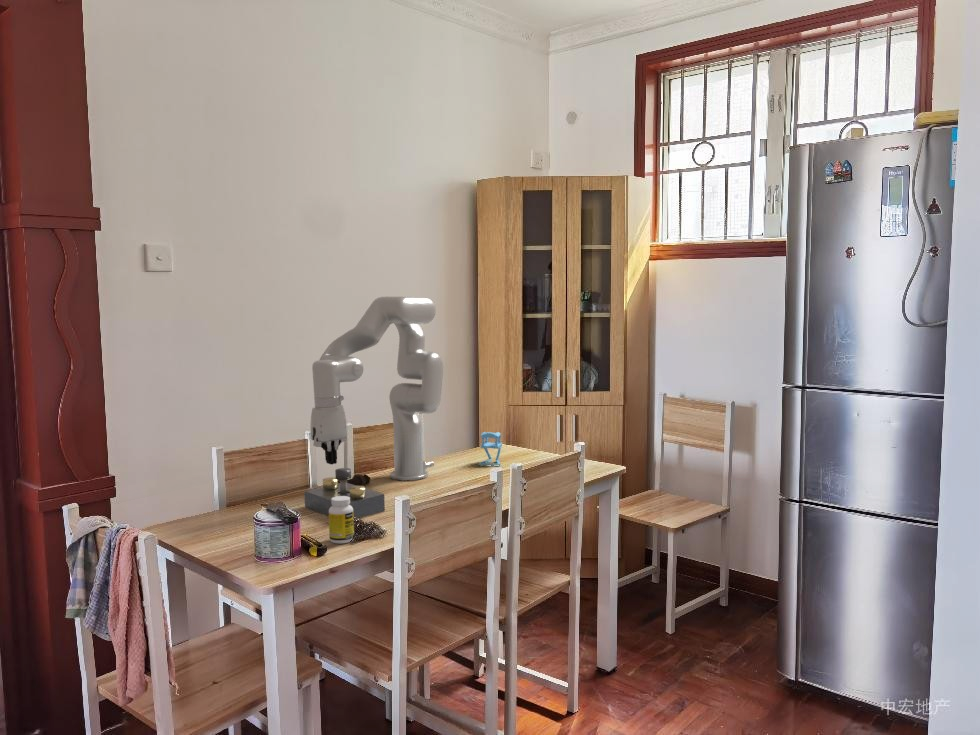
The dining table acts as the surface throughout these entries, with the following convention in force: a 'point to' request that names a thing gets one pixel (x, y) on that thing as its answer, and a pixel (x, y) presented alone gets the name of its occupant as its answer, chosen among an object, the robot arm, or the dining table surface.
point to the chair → (491, 446)
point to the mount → (361, 507)
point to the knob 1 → (330, 483)
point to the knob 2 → (357, 492)
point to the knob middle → (343, 478)
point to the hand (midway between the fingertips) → (331, 463)
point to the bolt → (358, 480)
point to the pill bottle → (341, 520)
